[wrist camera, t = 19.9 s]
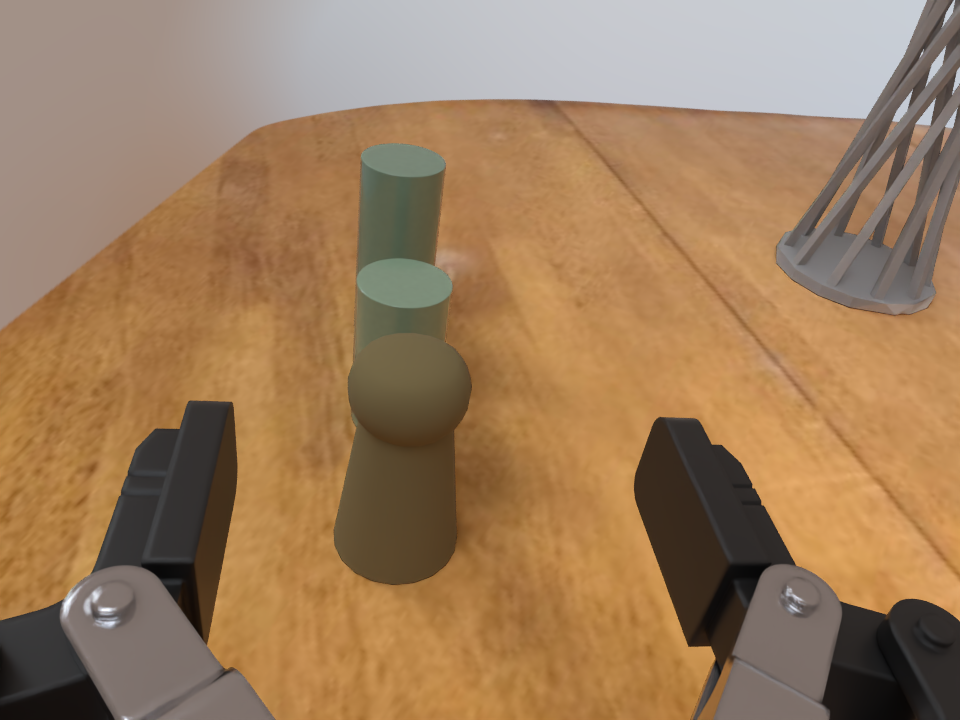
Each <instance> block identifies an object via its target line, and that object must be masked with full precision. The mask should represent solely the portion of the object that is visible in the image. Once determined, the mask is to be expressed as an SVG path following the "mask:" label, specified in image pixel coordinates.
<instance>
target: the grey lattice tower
mask: <svg viewBox="0 0 960 720" xmlns="http://www.w3.org/2000/svg"><path fill="white" fill-rule="evenodd" d="M952 2H953V0H927V2H926V5H925V7H924V10H923V12H922V14H921V17H920V19H919V22H918V24H917V26H916V29H915V31H914V34H913V36H912V39H911V41H910V44H909V46H908V48H907V51H906V53H905V55H904V57H903V59H902V60H901V62H900V63H899V65H898V67H897V68H896V70H895V72H894V74H893V75H892V77H891V78H890V80H889V82H888V83H887V85H886V87H885V89H884V90H883V92H882V93H881V95H880V97H879V99H878V100H877V102H876V103H875V105H874V107H873V108H872V110H871V112H870V113H869V115H868V117H867V118H866V120H865V122H864V123H863V125H862V127H861V128H860V130H859V132H858V133H857V135H856V137H855V138H854V140H853V142H852V143H851V145H850V147H849V148H848V150H847V151H846V153H845V155H844V156H843V158H842V160H841V161H840V163H839V165H838V166H837V168H836V170H835V171H834V173H833V175H832V176H831V178H830V180H829V181H828V183H827V185H826V186H825V187H824V189H823V190H822V191H821V193H820V194H819V195H818V197H817V198H816V199H815V201H814V202H813V204H812V205H811V206H810V208H809V209H808V210H807V212H806V213H805V214H804V216H803V217H802V218H801V220H800V221H799V223H798V224H797V225H796V227H795V228H794V229H793V231H789V232H785V234H784V235H783V237H782V238H781V240H780V241H779V243H778V244H777V264H778V265H779V266H780V267H781V268H782V269H783V270H784V271H785V273H786V274H787V275H788V276H789V277H790V278H791V279H792V280H794V281H796V282H797V283H799V284H801V285H802V286H804V287H806V288H807V289H809V290H811V291H812V292H814V293H816V294H817V295H819V296H822V297H824V298H827V299H830V300H832V301H835V302H837V303H840V304H842V305H845V306H848V307H852V308H857V309H863V310H869V311H875V312H880V313H886V314H892V315H898V314H912V313H915V312H917V311H920V310H923V309H926V308H927V307H928V306H929V304H930V303H931V301H932V300H933V298H934V296H935V294H936V291H935V288H934V285H933V283H932V276H933V271H934V267H935V263H936V258H937V254H938V250H939V245H940V241H941V237H942V233H943V228H944V225H945V222H946V219H947V216H948V213H949V210H950V207H951V204H952V201H953V198H954V195H955V192H956V189H957V186H958V183H959V180H960V84H959V86H958V87H957V89H956V90H955V92H954V93H953V95H952V91H953V87H954V82H955V77H956V72H957V70H958V68H959V67H960V0H955V5H954V10H953V14H952V15H951V16H950V18H949V19H948V21H947V22H946V23H945V25H944V26H943V27H942V25H943V22H944V18H945V14H946V12H947V10H948V8H949V7H950V5H951V4H952ZM945 46H946V50H945V55H944V61H943V65H942V67H941V68H940V69H939V70H938V72H937V73H936V74H935V76H934V77H933V78H932V79H931V81H930V82H929V83H928V85H927V86H926V83H927V79H928V75H929V71H930V68H931V65H932V63H933V62H934V61H935V59H936V58H937V57H938V55H939V54H940V53H941V51H942V50H943V49H944V47H945ZM923 49H924V52H923V55H922V56H921V57H920V55H921V52H922V51H923ZM919 57H920V58H919ZM925 86H926V87H925ZM912 89H913V92H912V96H911V100H910V103H909V107H908V110H907V112H906V113H905V115H904V116H903V117H902V118H901V120H900V121H899V122H898V124H897V125H896V126H895V127H894V129H893V130H892V131H891V133H890V134H889V135H888V137H887V138H886V139H885V140H884V138H885V136H886V134H887V131H888V129H889V127H890V124H891V122H892V120H893V117H894V115H895V113H896V111H897V109H898V108H899V107H900V105H901V104H902V102H903V101H904V100H905V99H906V97H907V96H908V95H909V93H910V92H911V91H912ZM935 98H936V101H935V106H934V111H933V116H932V121H931V126H930V129H929V130H928V132H927V133H926V135H925V136H924V138H923V139H922V141H921V142H920V144H919V145H918V147H917V148H916V150H915V151H914V153H913V154H912V156H911V157H910V159H909V160H908V162H907V163H906V164H905V166H904V163H905V159H906V156H907V152H908V148H909V145H910V141H911V137H912V134H913V130H914V126H915V123H916V122H917V121H918V120H919V118H920V117H921V116H922V114H923V113H924V112H925V110H926V109H927V108H928V107H929V106H930V104H931V103H932V102H933V100H934V99H935ZM957 107H958V109H957ZM956 109H957V114H956V119H955V123H954V127H953V129H952V131H951V133H950V135H949V137H948V139H947V141H946V143H945V145H944V147H943V149H942V151H941V153H940V149H941V144H942V140H943V135H944V130H945V125H946V124H947V122H948V121H949V119H950V118H951V116H952V115H953V113H954V112H955V110H956ZM883 141H884V142H883ZM897 146H898V147H897ZM896 148H897V151H896V154H895V158H894V162H893V165H892V169H891V173H890V176H889V180H888V184H887V188H886V191H885V195H884V197H883V199H882V200H881V202H880V203H879V205H878V206H877V208H876V209H875V210H874V212H873V213H872V215H871V216H870V218H869V219H868V221H867V222H866V224H865V225H864V227H863V228H862V230H861V231H860V233H859V234H858V235H855V234H850V233H845V232H844V231H845V229H846V226H847V224H848V222H849V219H850V217H851V215H852V212H853V210H854V208H855V205H856V203H857V201H858V198H859V196H860V194H861V192H862V191H863V190H864V189H865V187H866V186H867V185H868V184H869V182H870V181H871V180H872V178H873V177H874V176H875V175H876V173H877V172H878V171H879V169H880V168H881V167H882V166H883V164H884V163H885V162H886V161H887V159H888V158H889V157H890V155H891V154H892V153H893V152H894V150H895V149H896ZM939 154H940V155H939ZM862 155H863V157H862ZM861 157H862V159H861V162H860V164H859V167H858V169H857V171H856V174H855V176H854V179H853V181H852V183H851V185H850V186H849V187H848V189H847V190H846V191H845V192H844V194H843V195H842V196H841V198H840V199H839V200H838V202H837V203H836V204H835V205H834V207H833V208H832V209H831V211H830V212H829V213H828V215H827V216H826V217H825V218H824V220H823V221H822V222H821V224H820V225H819V226H818V228H817V229H815V228H814V227H815V226H816V224H817V222H818V221H819V219H820V218H821V216H822V214H823V213H824V211H825V209H826V208H827V206H828V204H829V203H830V201H831V200H832V198H833V196H834V195H835V193H836V191H837V190H838V188H839V187H840V185H841V183H842V182H843V180H844V179H845V178H846V176H847V175H848V174H849V172H850V171H851V170H852V168H853V167H854V166H855V164H856V163H857V162H858V160H859V159H860V158H861ZM923 158H924V161H923V166H922V171H921V176H920V182H919V187H918V192H917V197H916V202H915V205H914V207H913V209H912V211H911V213H910V215H909V217H908V219H907V221H906V223H905V226H904V228H903V230H902V232H901V234H900V236H899V238H898V240H897V242H896V244H895V246H894V248H893V249H892V248H890V247H888V246H886V245H884V244H882V243H883V240H884V236H885V232H886V229H887V225H888V221H889V218H890V214H891V210H892V207H893V203H894V200H895V199H896V198H897V196H898V195H899V193H900V192H901V190H902V189H903V187H904V186H905V184H906V183H907V181H908V180H909V178H910V177H911V175H912V174H913V172H914V171H915V169H916V168H917V167H918V165H919V164H920V162H921V161H922V159H923ZM939 189H940V191H939ZM938 191H939V196H938V200H937V204H936V207H935V210H934V213H933V216H932V219H931V222H930V225H929V228H928V231H927V234H926V237H925V240H924V243H923V246H922V249H921V252H920V255H919V251H920V246H921V241H922V236H923V231H924V227H925V222H926V217H927V212H928V210H929V208H930V206H931V204H932V203H933V201H934V199H935V197H936V195H937V193H938ZM874 230H875V232H874ZM873 232H874V235H873V239H872V240H870V239H869V237H870V236H871V234H872V233H873ZM918 255H919V258H918ZM917 260H918V261H917Z"/></svg>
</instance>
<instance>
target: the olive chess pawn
mask: <svg viewBox="0 0 960 720" xmlns="http://www.w3.org/2000/svg"><path fill="white" fill-rule="evenodd" d="M471 388H472V385H471V378H470V374H469V371H468V367H467V365H466V363H465V361H464V360H463V358H462V357H461V355H460V354H459V353H458V352H457V351H456V349H455V348H453V347H452V346H450V345H449V344H447V343H446V342H444V341H442V340H439V339H437V338H434V337H431V336H428V335H422V334H417V333H396V334H391V335H386V336H382V337H380V338H378V339H376V340H374V341H371V342H370V343H369V344H368V345H367V346H366V347H365V348H364V349H363V350H362V351H361V352H360V353H359V354H358V355H357V356H356V358H355V361H354V363H353V365H352V368H351V370H350V373H349V376H348V395H349V402H350V406H351V409H352V412H353V414H354V415H355V417H356V418H357V420H358V424H357V428H356V433H355V437H354V442H353V446H352V451H351V455H350V460H349V464H348V469H347V473H346V478H345V482H344V487H343V491H342V496H341V500H340V505H339V509H338V514H337V518H336V523H335V527H334V543H335V547H336V549H337V551H338V553H339V555H340V557H341V559H342V561H343V562H344V563H345V564H347V565H348V566H349V567H350V568H351V569H352V570H353V571H354V572H355V573H357V574H359V575H361V576H363V577H366V578H368V579H370V580H372V581H376V582H382V583H387V584H405V583H414V582H417V581H419V580H422V579H425V578H428V577H430V576H432V575H433V574H435V573H436V572H437V571H439V570H440V569H441V568H443V567H444V566H445V565H446V564H447V562H448V561H449V559H450V557H451V556H452V554H453V553H454V550H455V544H456V539H457V527H456V488H455V449H454V429H455V428H456V427H457V426H458V424H459V423H460V422H461V420H462V419H463V417H464V415H465V413H466V411H467V409H468V404H469V399H470V394H471Z"/></svg>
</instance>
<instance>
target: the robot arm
mask: <svg viewBox="0 0 960 720" xmlns="http://www.w3.org/2000/svg"><path fill="white" fill-rule="evenodd" d="M236 485H237V451H236V436H235V420H234V407H233V403H232V402H218V401H189V402H188V404H187V406H186V409H185V413H184V416H183V420H182V423H181V426H180V429H155V430H154V431H153V432H152V433H151V434H150V435H149V436H148V437H147V438H146V439H145V440H144V441H143V442H142V443H141V444H140V445H139V446H138V447H137V448H136V450H135V453H134V456H133V459H132V461H131V464H130V467H129V470H128V476H127V477H126V479H125V481H124V484H123V487H122V490H121V496H119V499H118V501H117V504H116V507H115V510H114V513H113V516H112V519H111V521H110V524H109V527H108V530H107V533H106V536H105V539H104V541H103V544H102V547H101V550H100V553H99V556H98V558H97V561H96V564H95V566H94V569H93V571H92V573H91V574H90V575H89V576H87V577H85V578H84V579H83V580H81V581H80V582H79V583H77V584H76V585H75V586H74V587H73V588H72V589H71V591H70V592H69V593H68V594H67V596H66V598H65V599H63V600H61V601H60V602H58V603H56V604H54V605H51V606H49V607H47V608H44V609H41V610H38V611H34V612H31V613H27V614H23V615H20V616H16V617H12V618H8V619H5V620H1V621H0V720H275V718H274V717H273V716H272V714H271V713H270V711H269V710H268V709H267V707H266V706H265V705H264V703H263V702H262V700H261V699H260V698H259V696H258V695H257V694H256V692H255V691H254V689H253V688H252V687H251V685H250V684H249V683H248V681H247V680H246V679H245V677H244V676H243V675H242V674H241V673H240V672H239V671H238V670H236V669H235V668H233V667H230V668H228V669H225V668H223V667H222V666H221V665H220V663H219V662H218V661H217V659H216V658H215V657H214V655H213V654H212V652H211V651H210V650H209V648H208V647H207V643H208V638H209V632H210V627H211V622H212V617H213V611H214V606H215V601H216V595H217V590H218V585H219V580H220V574H221V569H222V564H223V558H224V553H225V548H226V543H227V537H228V532H229V527H230V521H231V516H232V511H233V506H234V500H235V494H236ZM634 493H635V500H636V504H637V507H638V509H639V512H640V515H641V518H642V520H643V523H644V526H645V529H646V531H647V534H648V537H649V540H650V542H651V545H652V548H653V551H654V553H655V556H656V559H657V562H658V564H659V567H660V570H661V572H662V575H663V578H664V581H665V583H666V586H667V589H668V592H669V594H670V597H671V600H672V603H673V605H674V608H675V611H676V614H677V616H678V619H679V622H680V625H681V627H682V630H683V633H684V636H685V638H686V641H687V644H688V647H699V646H711V647H712V650H713V652H714V655H715V657H716V658H715V660H714V662H713V664H712V666H711V667H710V670H709V672H708V675H707V678H706V680H705V683H704V685H703V688H702V691H701V693H700V696H699V698H698V701H697V703H696V706H695V709H694V711H693V714H692V716H691V719H690V720H960V621H959V620H958V619H956V618H955V617H954V616H953V615H951V614H950V613H949V612H947V611H946V610H944V609H942V608H941V607H939V606H937V605H934V604H932V603H929V602H927V601H923V600H918V599H905V600H901V601H899V602H897V603H896V604H895V605H894V606H893V607H892V609H891V610H890V611H889V613H888V614H887V615H886V614H882V613H879V612H875V611H872V610H868V609H864V608H861V607H857V606H853V605H850V604H847V603H844V602H841V601H839V599H838V597H837V595H836V594H835V593H834V591H833V590H832V589H831V587H830V586H829V585H828V584H827V583H826V582H825V581H823V580H822V579H821V578H820V577H818V576H817V575H815V574H814V573H812V572H810V571H808V570H806V569H804V568H801V567H798V566H796V564H795V563H794V561H793V559H792V557H791V555H790V553H789V551H788V550H787V548H786V546H785V544H784V542H783V540H782V538H781V537H780V535H779V533H778V531H777V529H776V527H775V525H774V524H773V522H772V520H771V518H770V516H769V514H768V512H767V511H766V509H765V507H764V506H762V505H761V499H760V498H759V496H758V494H757V492H756V490H755V489H753V488H752V483H751V481H750V479H749V477H748V475H747V473H746V472H745V470H744V468H743V466H742V464H741V463H740V462H739V461H738V460H737V459H736V458H735V457H734V456H733V455H732V454H731V453H729V452H728V451H727V450H726V449H725V448H724V447H723V446H722V445H712V444H711V442H710V440H709V438H708V436H707V435H706V433H705V431H704V429H703V427H702V425H701V423H700V422H699V421H698V420H697V419H695V418H668V417H659V418H657V419H656V420H655V422H654V424H653V426H652V429H651V432H650V434H649V437H648V440H647V443H646V445H645V448H644V451H643V454H642V457H641V459H640V462H639V465H638V468H637V471H636V474H635V481H634Z"/></svg>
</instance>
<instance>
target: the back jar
mask: <svg viewBox="0 0 960 720" xmlns="http://www.w3.org/2000/svg"><path fill="white" fill-rule="evenodd" d="M445 169H446V163H445V160H444V159H443V158H442V157H441V156H440V155H439V154H437V153H435V152H433V151H431V150H428V149H426V148H422V147H419V146H414V145H408V144H393V143H392V144H380V145H375V146H372V147H369V148H367V149H366V150H364V151H363V153H362V154H361V166H360V190H359V214H358V238H357V263H356V279H357V275H358V273H359V272H360V270H361V269H362V268H364V267H365V266H367V265H368V264H370V263H373V262H376V261H379V260H384V259H394V258H403V259H412V260H418V261H422V262H425V263H428V264H431V265H433V266H435V261H436V252H437V242H438V233H439V224H440V215H441V206H442V197H443V188H444V178H445ZM355 299H356V287H355ZM354 323H355V311H354Z"/></svg>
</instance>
